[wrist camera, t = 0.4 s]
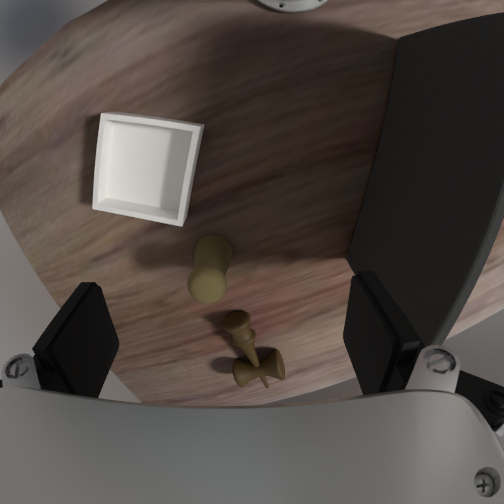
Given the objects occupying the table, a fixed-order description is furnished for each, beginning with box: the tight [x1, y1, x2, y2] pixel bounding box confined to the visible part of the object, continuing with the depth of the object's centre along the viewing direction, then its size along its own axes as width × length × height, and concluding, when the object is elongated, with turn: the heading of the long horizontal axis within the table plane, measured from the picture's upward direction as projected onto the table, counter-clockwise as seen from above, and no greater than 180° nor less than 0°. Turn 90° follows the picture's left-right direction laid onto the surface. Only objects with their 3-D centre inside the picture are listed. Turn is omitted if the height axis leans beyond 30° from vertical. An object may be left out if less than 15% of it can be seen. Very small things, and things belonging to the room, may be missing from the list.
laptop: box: [346, 12, 504, 347], centre depth 31 cm, size 37×27×27 cm
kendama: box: [222, 311, 285, 388], centre depth 56 cm, size 6×10×20 cm
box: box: [92, 112, 205, 227], centre depth 40 cm, size 14×14×4 cm
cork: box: [187, 234, 233, 303], centre depth 44 cm, size 6×6×11 cm
